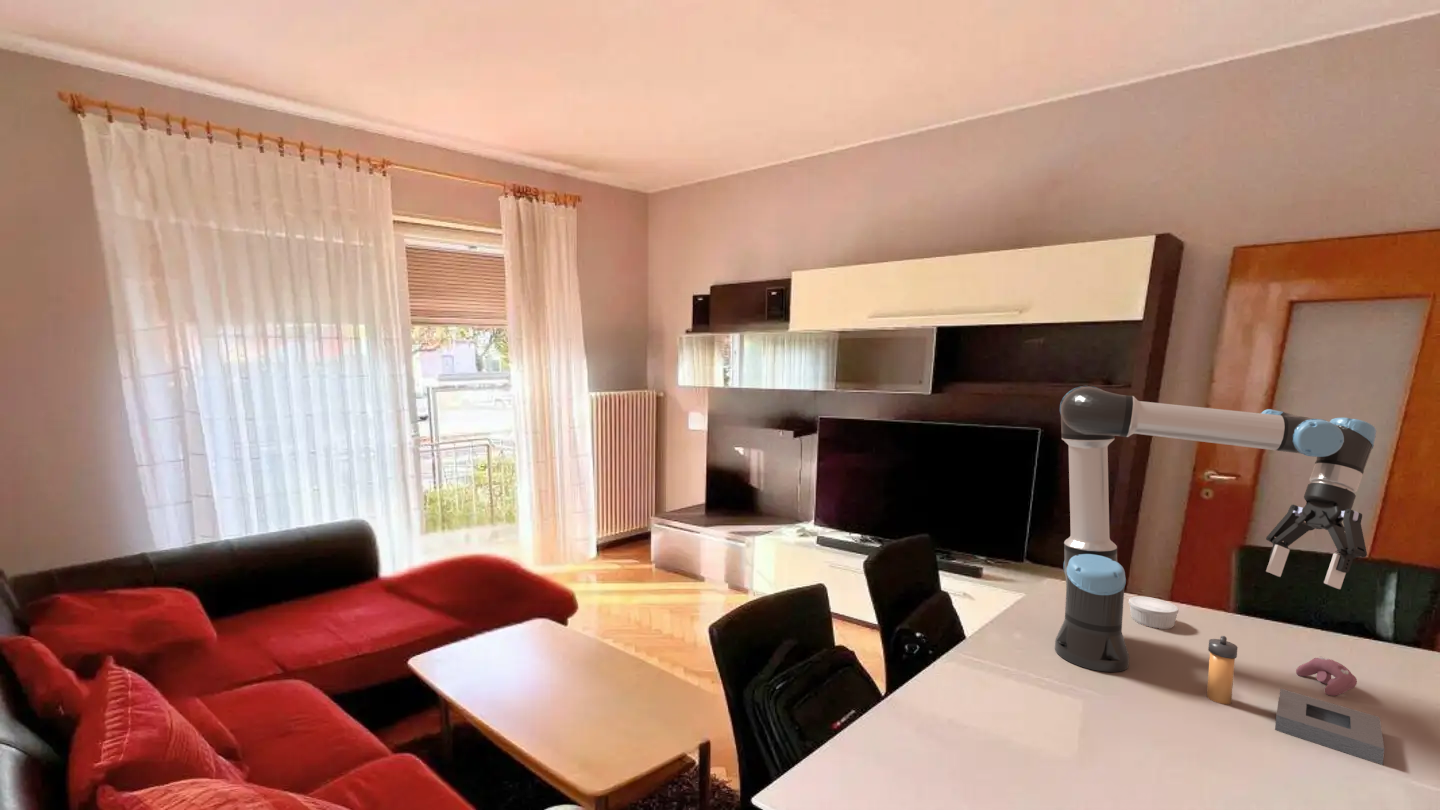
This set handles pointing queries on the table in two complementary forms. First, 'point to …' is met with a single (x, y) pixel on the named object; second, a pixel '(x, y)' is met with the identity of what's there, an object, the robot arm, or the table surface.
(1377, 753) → the grey square socket block
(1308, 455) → the robot arm
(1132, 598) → the ramekin
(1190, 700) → the table surface
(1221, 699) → the orange lidded canister
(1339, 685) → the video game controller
